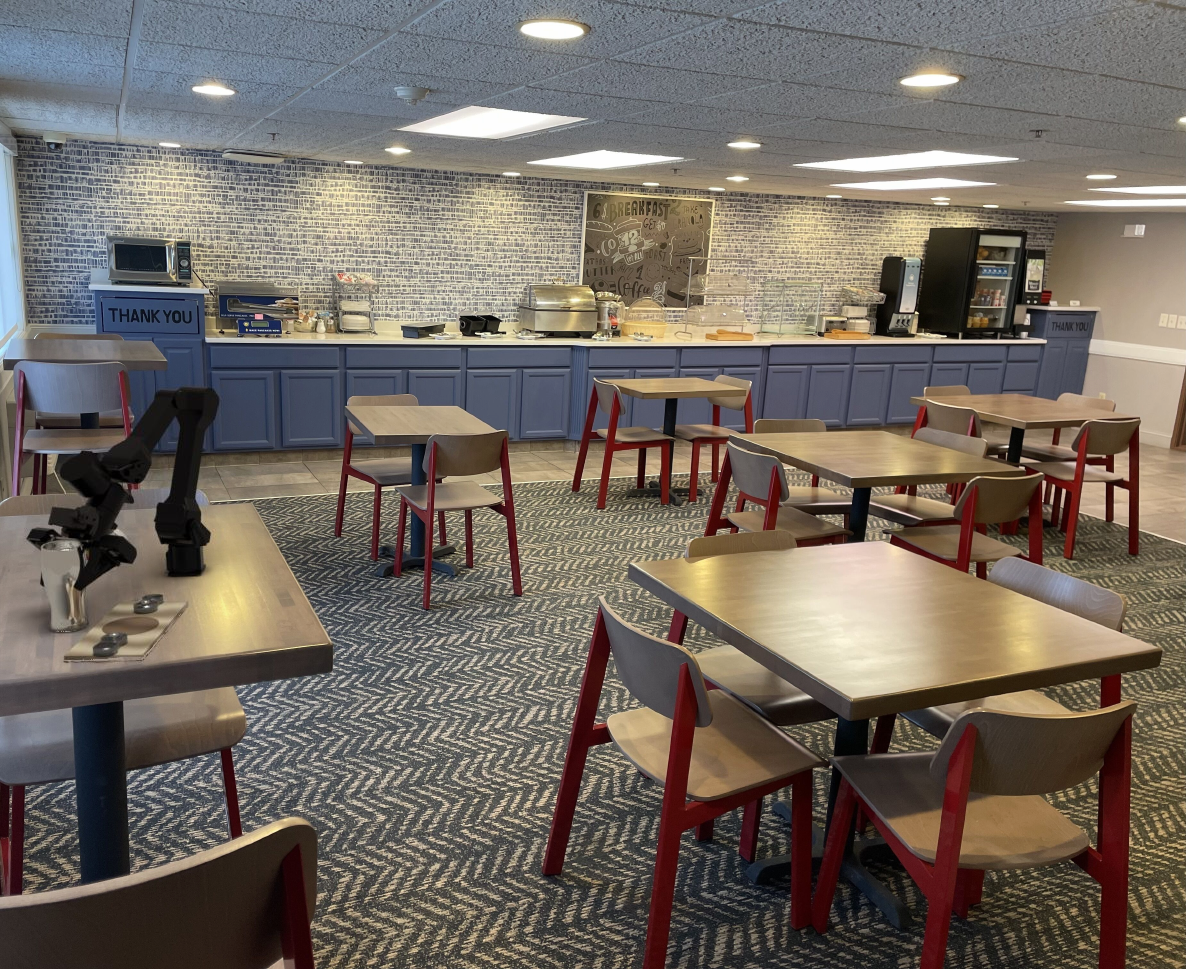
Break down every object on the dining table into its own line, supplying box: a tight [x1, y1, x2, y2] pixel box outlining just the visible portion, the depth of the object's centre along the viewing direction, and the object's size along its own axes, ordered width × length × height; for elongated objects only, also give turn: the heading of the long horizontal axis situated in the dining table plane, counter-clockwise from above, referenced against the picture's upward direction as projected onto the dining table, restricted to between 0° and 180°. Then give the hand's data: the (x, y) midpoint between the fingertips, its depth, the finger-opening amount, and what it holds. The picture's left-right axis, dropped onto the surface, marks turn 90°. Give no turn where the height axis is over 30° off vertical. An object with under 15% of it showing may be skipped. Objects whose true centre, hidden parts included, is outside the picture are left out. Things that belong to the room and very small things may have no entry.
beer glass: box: [40, 540, 90, 633], centre depth 165 cm, size 7×7×15 cm
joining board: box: [63, 600, 189, 660], centre depth 165 cm, size 26×12×1 cm, turn 8°
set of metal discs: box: [93, 593, 164, 657], centre depth 165 cm, size 28×4×2 cm, turn 8°
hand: (60, 587), depth 164 cm, fingers closed on beer glass, 7 cm apart
